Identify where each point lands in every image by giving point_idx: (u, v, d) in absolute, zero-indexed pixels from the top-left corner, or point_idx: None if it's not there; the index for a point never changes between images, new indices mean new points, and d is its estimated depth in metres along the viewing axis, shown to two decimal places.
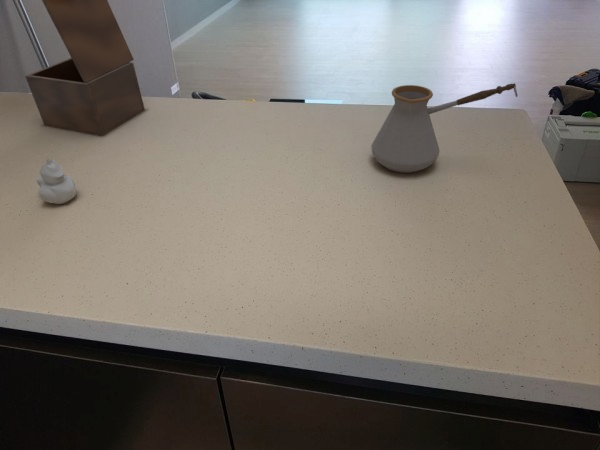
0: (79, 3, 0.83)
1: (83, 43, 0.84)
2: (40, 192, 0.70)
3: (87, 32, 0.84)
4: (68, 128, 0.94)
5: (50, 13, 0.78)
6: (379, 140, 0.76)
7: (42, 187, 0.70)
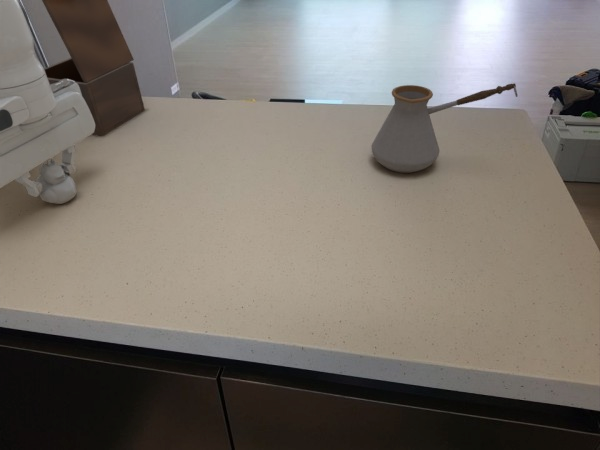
0: (79, 3, 0.83)
1: (83, 43, 0.84)
2: None
3: (87, 32, 0.84)
4: None
5: (50, 13, 0.78)
6: (379, 140, 0.76)
7: (42, 187, 0.70)
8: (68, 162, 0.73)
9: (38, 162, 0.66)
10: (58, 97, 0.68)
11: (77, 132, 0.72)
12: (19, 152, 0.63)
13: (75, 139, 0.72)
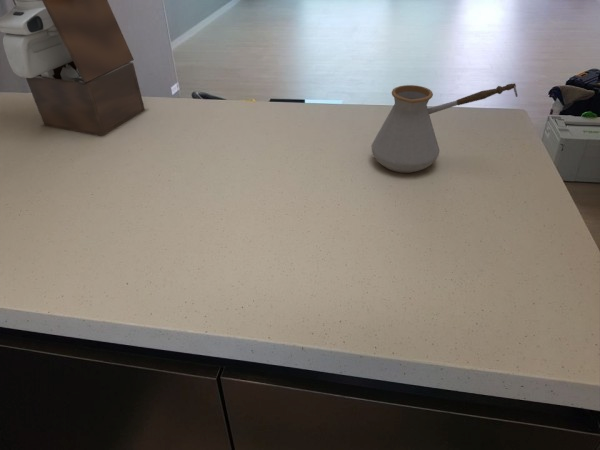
0: (79, 3, 0.83)
1: (83, 43, 0.84)
2: None
3: (87, 32, 0.84)
4: (68, 128, 0.94)
5: (50, 13, 0.78)
6: (379, 140, 0.76)
7: None
8: None
9: (60, 63, 0.89)
10: None
11: None
12: (47, 52, 0.86)
13: None
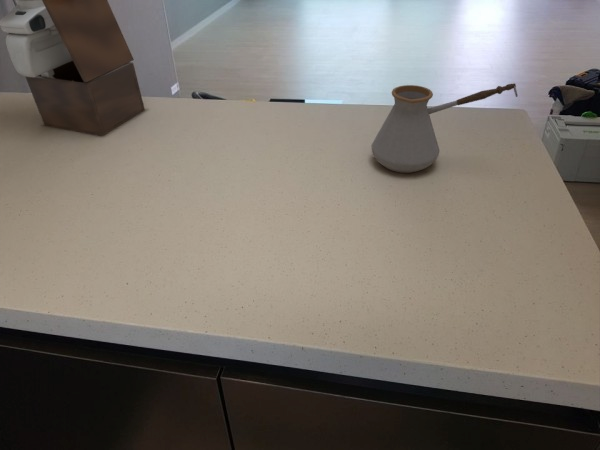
0: (79, 3, 0.83)
1: (83, 43, 0.84)
2: None
3: (87, 32, 0.84)
4: (68, 128, 0.94)
5: (50, 13, 0.78)
6: (379, 140, 0.76)
7: None
8: None
9: (62, 62, 0.89)
10: None
11: None
12: (49, 51, 0.86)
13: None
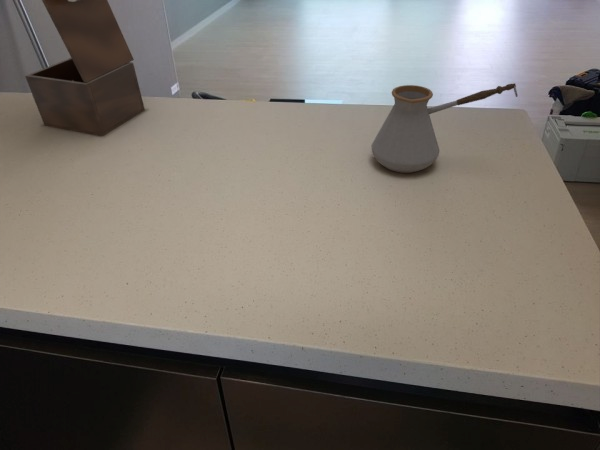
0: (79, 3, 0.83)
1: (83, 43, 0.84)
2: None
3: (87, 32, 0.84)
4: (68, 128, 0.94)
5: (50, 13, 0.78)
6: (379, 140, 0.76)
7: None
8: None
9: None
10: None
11: None
12: None
13: None
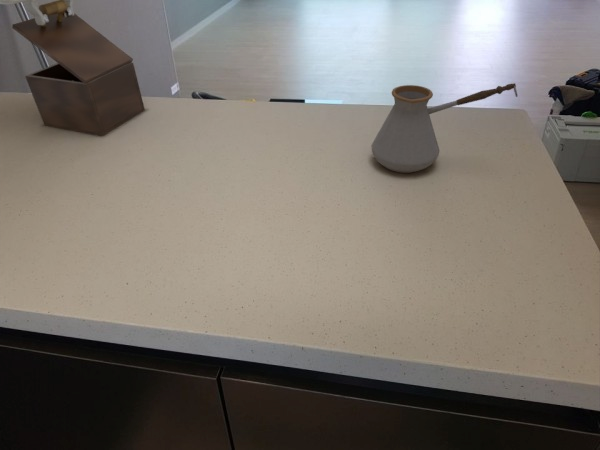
0: (58, 29, 0.88)
1: (71, 54, 0.86)
2: None
3: (74, 46, 0.88)
4: (68, 128, 0.94)
5: (31, 40, 0.84)
6: (379, 140, 0.76)
7: None
8: (67, 5, 0.88)
9: None
10: None
11: None
12: None
13: None
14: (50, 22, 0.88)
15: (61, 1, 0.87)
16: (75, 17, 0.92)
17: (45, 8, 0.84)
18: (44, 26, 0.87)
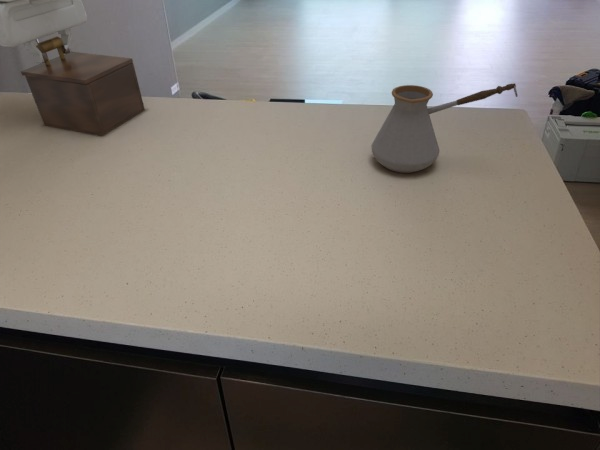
0: (61, 62, 0.93)
1: (72, 71, 0.89)
2: None
3: (75, 67, 0.91)
4: (68, 128, 0.94)
5: (37, 75, 0.88)
6: (379, 140, 0.76)
7: None
8: (65, 43, 0.94)
9: (43, 33, 0.88)
10: None
11: (72, 18, 0.93)
12: (29, 21, 0.85)
13: (71, 23, 0.93)
14: (54, 61, 0.94)
15: (54, 37, 0.92)
16: (78, 53, 0.98)
17: (40, 44, 0.89)
18: (48, 64, 0.92)
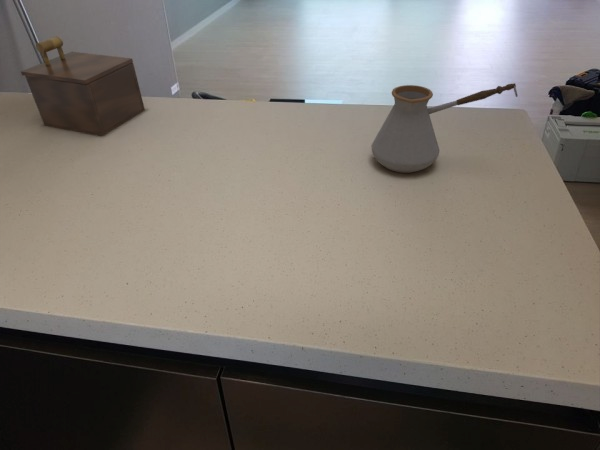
0: (61, 62, 0.93)
1: (72, 71, 0.89)
2: None
3: (75, 67, 0.91)
4: (68, 128, 0.94)
5: (37, 75, 0.88)
6: (379, 140, 0.76)
7: None
8: None
9: None
10: None
11: None
12: None
13: None
14: (54, 61, 0.94)
15: (54, 37, 0.92)
16: (78, 53, 0.98)
17: (40, 44, 0.89)
18: (48, 64, 0.92)
